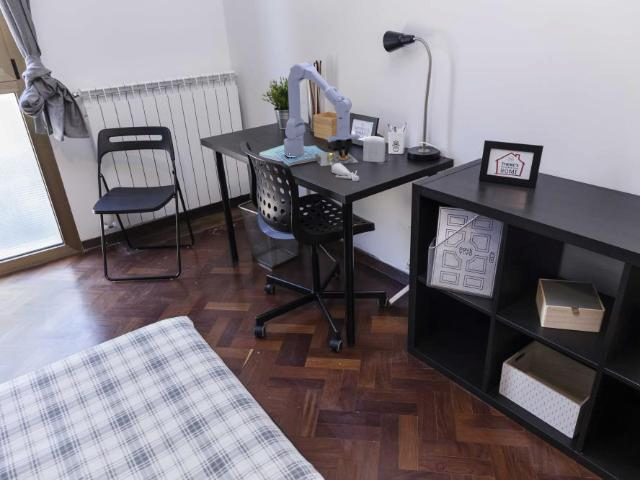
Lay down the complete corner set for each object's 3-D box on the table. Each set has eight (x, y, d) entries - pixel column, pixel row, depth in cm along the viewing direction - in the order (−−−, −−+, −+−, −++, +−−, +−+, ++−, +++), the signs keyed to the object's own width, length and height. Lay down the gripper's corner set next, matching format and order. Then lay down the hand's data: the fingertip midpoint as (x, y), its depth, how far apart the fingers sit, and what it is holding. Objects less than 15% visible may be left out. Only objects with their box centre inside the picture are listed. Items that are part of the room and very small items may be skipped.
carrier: (321, 167, 219) (321, 159, 218) (310, 155, 237) (310, 148, 235) (358, 164, 223) (358, 155, 222) (345, 152, 241) (345, 144, 239)
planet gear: (339, 161, 224) (339, 153, 222) (336, 158, 228) (336, 150, 226) (349, 161, 224) (349, 152, 223) (346, 157, 229) (346, 149, 227)
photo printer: (385, 161, 225) (386, 135, 220) (383, 164, 222) (384, 138, 216) (364, 160, 228) (364, 134, 223) (362, 163, 225) (362, 136, 219)
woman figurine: (344, 159, 216) (369, 171, 203) (344, 168, 219) (368, 181, 206) (323, 163, 211) (347, 177, 198) (322, 173, 213) (346, 187, 200)
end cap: (334, 152, 241) (333, 139, 238) (326, 149, 247) (326, 136, 244) (350, 149, 246) (350, 136, 243) (343, 146, 251) (343, 133, 248)
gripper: (330, 129, 214) (330, 159, 220) (361, 127, 217) (360, 156, 223) (326, 126, 220) (326, 155, 226) (356, 123, 223) (355, 152, 229)
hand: (343, 155), depth 225 cm, fingers closed on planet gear, 2 cm apart
